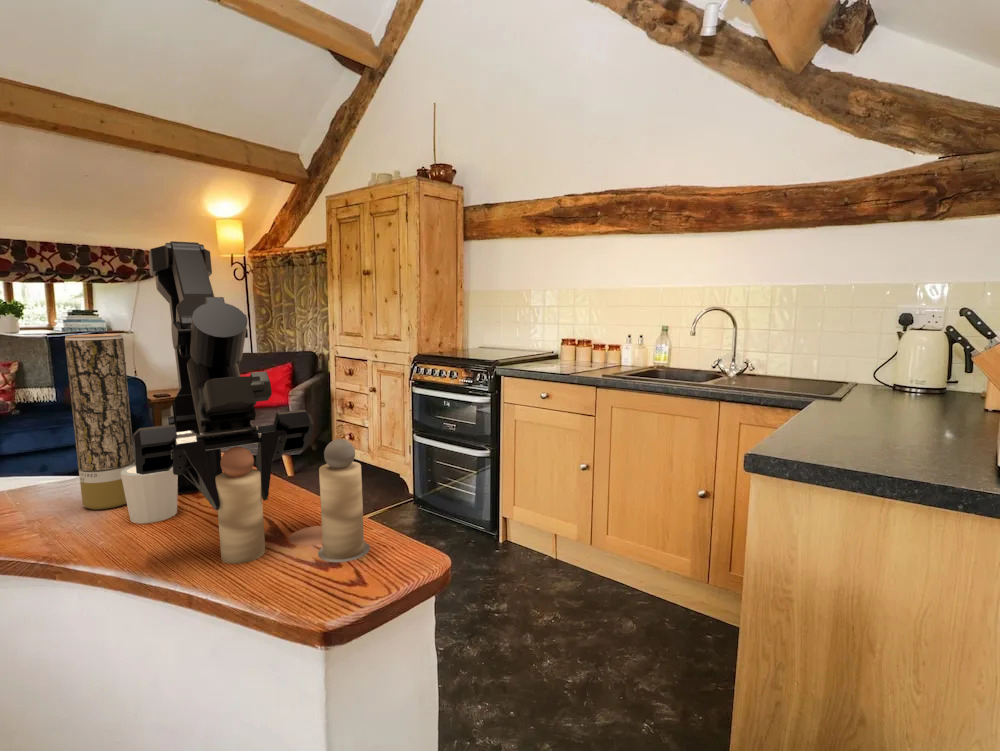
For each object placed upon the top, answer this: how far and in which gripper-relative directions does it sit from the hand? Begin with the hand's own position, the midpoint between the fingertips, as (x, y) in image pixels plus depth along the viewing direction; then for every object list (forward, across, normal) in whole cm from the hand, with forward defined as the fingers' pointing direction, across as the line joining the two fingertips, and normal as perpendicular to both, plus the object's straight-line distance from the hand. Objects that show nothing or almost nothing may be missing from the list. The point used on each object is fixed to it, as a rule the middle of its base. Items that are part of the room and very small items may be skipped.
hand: (242, 503), depth 62 cm
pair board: (+6, +9, +4) cm, 12 cm away
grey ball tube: (+8, +10, +1) cm, 12 cm away
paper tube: (-18, -12, +30) cm, 37 cm away
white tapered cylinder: (-12, -7, +23) cm, 26 cm away
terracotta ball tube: (+4, 0, +6) cm, 7 cm away
